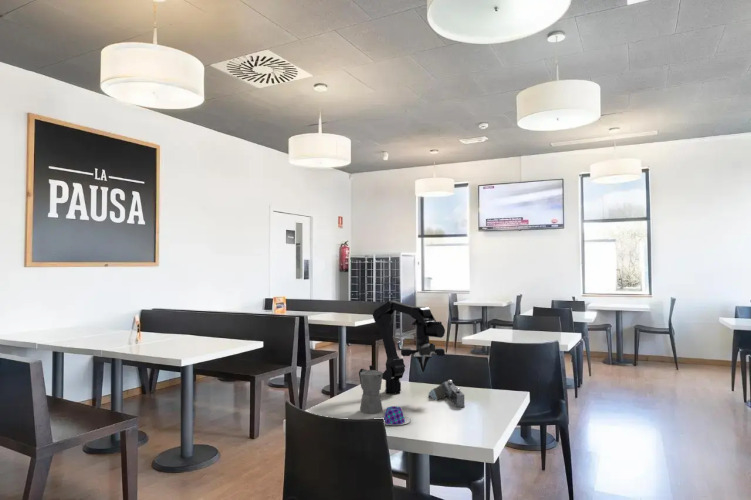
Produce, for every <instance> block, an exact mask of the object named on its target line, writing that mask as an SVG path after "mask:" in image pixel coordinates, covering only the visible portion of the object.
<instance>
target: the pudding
mask: <svg viewBox="0 0 751 500" xmlns="http://www.w3.org/2000/svg"><path fill="white" fill-rule="evenodd" d="M403 411H404V410H403V409H402V407H400V406H395V405H394V406H393V405H392V406H387V407H386V409H385V412H384V416H382V417H380V418H384V420H385V425H388V426H390V425H391V426H398V425H399V426H403V425H406V424H409V423H410V422H411V419H410V418H408V417H406V416H405V415H404V412H403ZM405 421H406V422H405Z"/></svg>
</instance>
